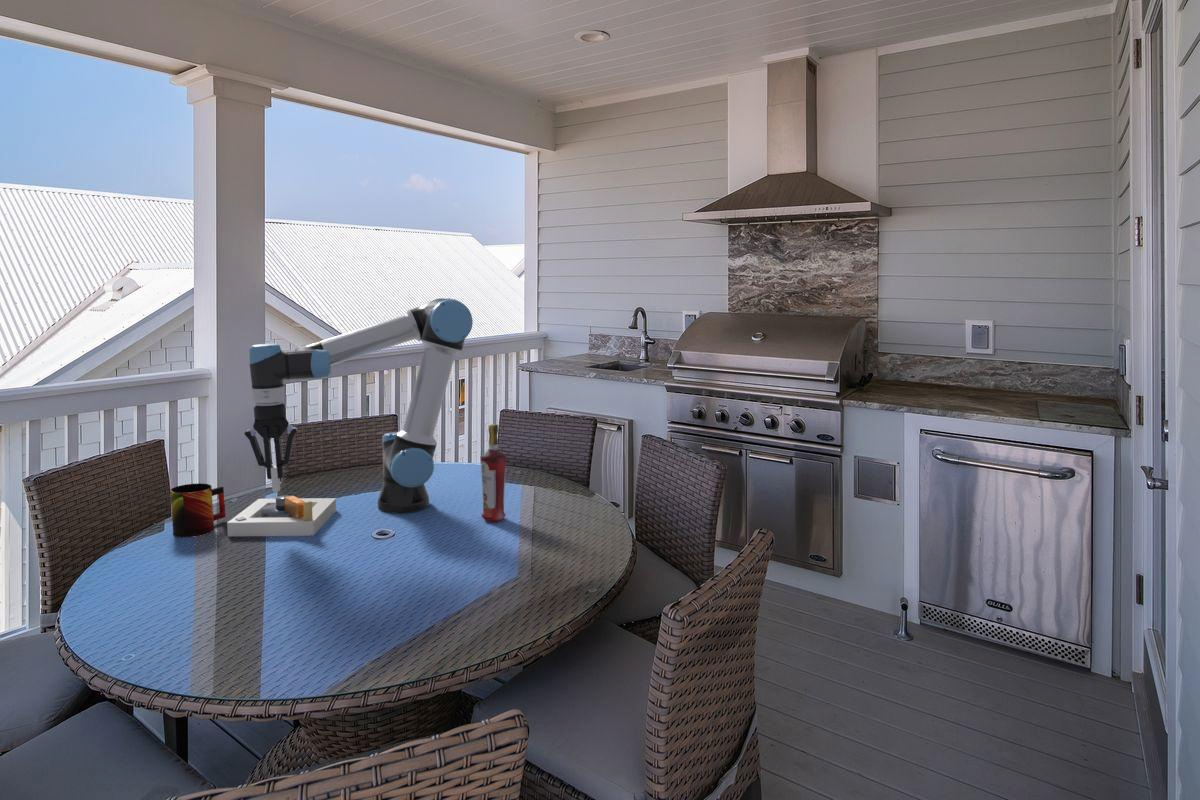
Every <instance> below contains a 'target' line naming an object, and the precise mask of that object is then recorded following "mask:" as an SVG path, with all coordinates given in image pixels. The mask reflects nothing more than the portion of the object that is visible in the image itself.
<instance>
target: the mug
mask: <svg viewBox="0 0 1200 800" xmlns="http://www.w3.org/2000/svg"><path fill="white" fill-rule="evenodd" d="M224 491H225V490H224V486H218V487H216V488H212V485H211V484H209V483H187V484H183V485H177V486H174V487H173V488H171V489H169V495H170V506H171V508H170V509H171V519H172V520H171V521H172V523H171V524H172V534H173V536H175V537H177V538H194V536H196V537H200V535H201V536H204V534H205V535H207V533H208V534H210V533H212V532H213V531H215V521H218V520H221V519H223V518H226V505H225V492H224ZM216 495H218V507H219V512H217V513H214V505H213V497H214V496H216ZM211 531H212V532H211Z"/></svg>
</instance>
